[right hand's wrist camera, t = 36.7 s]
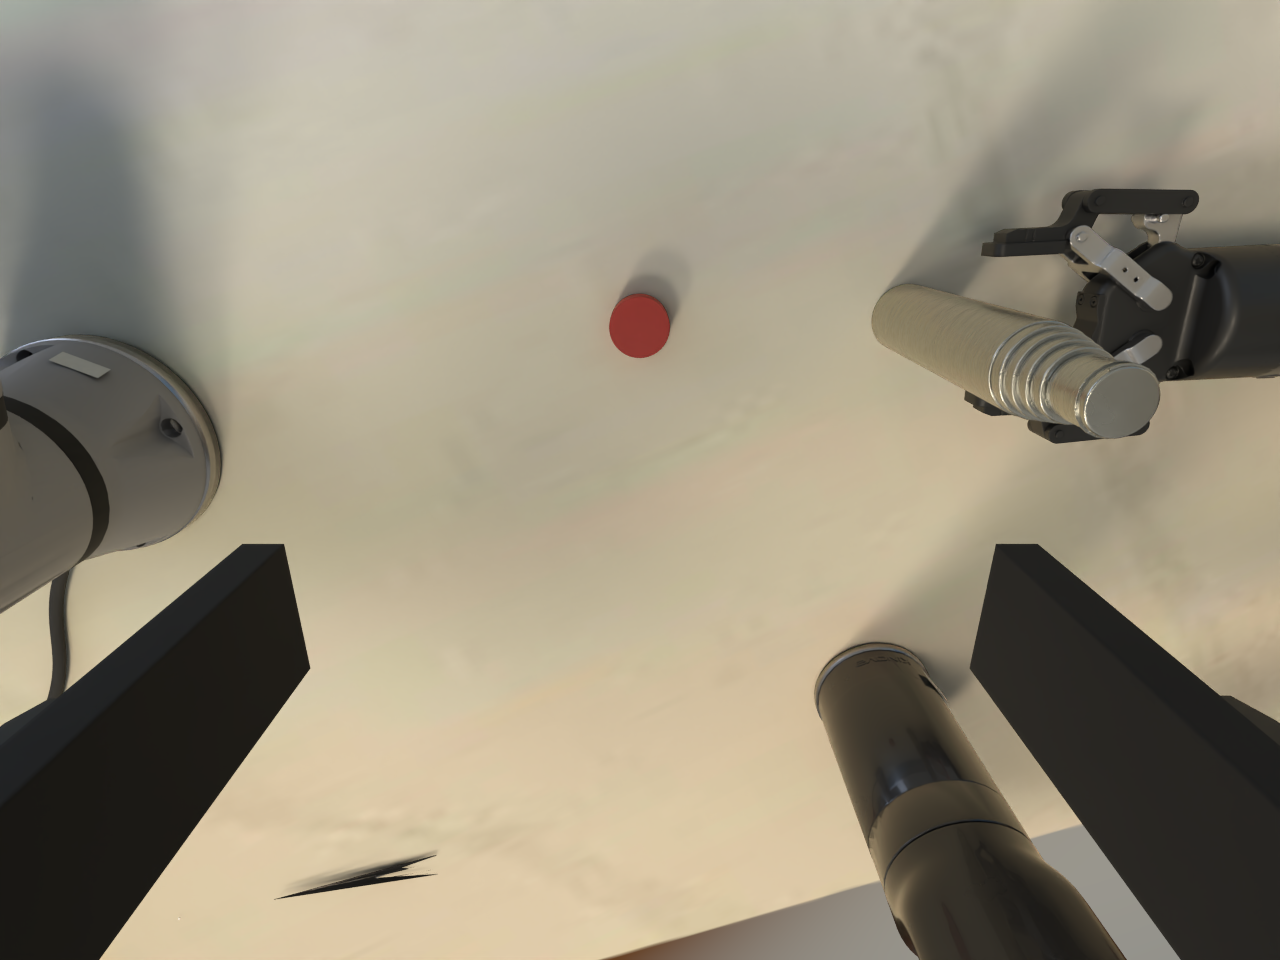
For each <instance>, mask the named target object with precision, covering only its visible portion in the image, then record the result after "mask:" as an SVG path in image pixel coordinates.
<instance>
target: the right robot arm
mask: <svg viewBox="0 0 1280 960" xmlns="http://www.w3.org/2000/svg"><path fill="white" fill-rule="evenodd" d="M220 466H221V462H220V451H219V445H218V441H217V437H216V434H215V431H214V428H213V426H212V423H211V421H210V419H209V417H208V415H207V413H206V411H205V410H204V408H203V406H202V405H201V403H200V402H199V400H198V399H197V398H196V396H195V395H194V394H193V392H192V391H191V390H190V389H189V388H188V386H187V385H186V384H185V383H184V382H183V381H182V380H181V379H180V378H179V377H178V376H177V375H176V374H175V373H173V372H172V371H171V370H170V369H169V368H167V367H166V366H165V365H163V364H162V363H161V362H159V361H158V360H156V359H155V358H153V357H152V356H150V355H148V354H147V353H145V352H143V351H141V350H139V349H137V348H135V347H132V346H130V345H128V344H125V343H122V342H119V341H116V340H113V339H109V338H105V337H99V336H93V335H66V336H59V337H54V338H50V339H45V340H40V341H36V342H32V343H29V344H26V345H24V346H21V347H19V348H17V349H15V350H13V351H11V352H10V353H8V354H6V355H5V356H4V357H2V358H1V359H0V614H1V613H2V612H4V611H6V610H7V609H9V608H10V607H12V606H13V605H15V604H16V603H18V602H19V601H21V600H23V599H24V598H26V597H27V596H29V595H30V594H32V593H33V592H35V591H37V590H38V589H40V588H41V587H43V586H44V585H46V584H47V583H49V582H50V581H52V584H51V590H50V598H49V624H50V635H51V644H52V656H53V671H52V681H51V686H50V691H49V695H48V698H47V700H46V701H44V702H43V703H41V704H39V705H37V706H35V707H33V708H32V709H30V710H28V711H26V712H24V713H23V714H21V715H19V716H17V717H15V718H13V719H12V720H10V721H8V722H6V723H4V724H3V725H2V726H1V727H0V960H99V959H100V958H101V956H102V955H103V954H104V952H105V951H106V950H107V948H108V947H109V945H110V944H111V943H112V941H113V940H114V939H115V937H116V936H117V934H118V933H119V932H120V930H121V929H122V928H123V926H124V925H125V923H126V922H127V921H128V919H129V918H130V916H131V915H132V914H133V912H134V911H135V910H136V908H137V907H138V905H139V904H140V903H141V901H142V900H143V899H144V897H145V896H146V894H147V893H148V892H149V890H150V889H151V887H152V886H153V885H154V883H155V882H156V881H157V879H158V878H159V876H160V875H161V874H162V872H163V871H164V870H165V868H166V867H167V865H168V864H169V863H170V861H171V860H172V858H173V857H174V856H175V854H176V853H177V852H178V850H179V849H180V847H181V846H182V845H183V843H184V842H185V841H186V839H187V838H188V836H189V835H190V834H191V832H192V831H193V830H194V828H195V827H196V825H197V824H198V823H199V821H200V820H201V818H202V817H203V816H204V814H205V813H206V812H207V810H208V809H209V807H210V806H211V805H212V803H213V802H214V801H215V799H216V798H217V796H218V795H219V794H220V792H221V791H222V789H223V788H224V787H225V785H226V784H227V783H228V781H229V780H230V778H231V777H232V776H233V774H234V773H235V772H236V770H237V769H238V767H239V766H240V765H241V763H242V762H243V761H244V759H245V758H246V756H247V755H248V754H249V752H250V751H251V749H252V748H253V747H254V745H255V744H256V743H257V741H258V740H259V738H260V737H261V736H262V734H263V733H264V732H265V730H266V729H267V727H268V726H269V725H270V723H271V722H272V720H273V719H274V718H275V716H276V715H277V714H278V712H279V711H280V709H281V708H282V707H283V705H284V704H285V703H286V701H287V700H288V698H289V697H290V696H291V694H292V693H293V692H294V690H295V689H296V687H297V686H298V685H299V683H300V682H301V680H302V679H303V678H304V676H305V675H306V674H307V672H308V671H309V669H310V665H309V660H308V655H307V650H306V646H305V641H304V636H303V632H302V627H301V622H300V617H299V613H298V608H297V603H296V599H295V594H294V589H293V584H292V580H291V575H290V570H289V566H288V561H287V556H286V551H285V547H284V544H242V545H241V546H239V547H238V548H237V549H236V550H235V551H233V552H232V553H231V554H230V555H229V556H227V557H226V558H225V559H224V560H223V561H221V562H220V563H219V564H218V565H217V566H215V567H214V568H213V569H212V570H211V571H209V572H208V573H207V574H206V575H205V576H203V577H202V578H201V579H200V580H199V581H197V582H196V583H195V584H194V585H193V586H191V587H190V588H189V589H188V590H187V591H185V592H184V593H183V594H182V595H181V596H179V597H178V598H177V599H176V600H175V601H173V602H172V603H171V604H170V605H169V606H167V607H166V608H165V609H164V610H163V611H161V612H160V613H159V614H158V615H157V616H155V617H154V618H153V619H152V620H151V621H149V622H148V623H147V624H146V625H144V626H143V627H142V628H141V629H140V630H138V631H137V632H136V633H135V634H134V635H132V636H131V637H130V638H129V639H128V640H126V641H125V642H124V643H123V644H122V645H120V646H119V647H118V648H117V649H116V650H114V651H113V652H112V653H111V654H110V655H108V656H107V657H106V658H105V659H104V660H102V661H101V662H100V663H99V664H98V665H96V666H95V667H94V668H93V669H92V670H90V671H89V672H88V673H87V674H86V675H84V676H83V677H82V678H81V679H80V680H78V681H77V682H76V683H75V684H74V685H72V686H71V687H70V688H69V689H68V690H66V691H65V692H64V693H63V694H62V692H63V688H64V683H65V677H66V645H65V634H64V623H63V601H64V592H65V587H66V582H67V578H68V574H69V569H71V568H72V567H74V566H75V565H77V564H79V563H80V562H82V561H84V560H86V559H90V558H94V557H98V556H101V555H104V554H108V553H111V552H115V551H123V550H132V549H137V548H142V547H146V546H149V545H153V544H156V543H159V542H162V541H164V540H166V539H168V538H170V537H172V536H173V535H175V534H177V533H178V532H180V531H181V530H183V529H184V528H185V527H187V526H188V525H190V524H191V523H192V522H194V521H195V520H196V519H198V518H199V516H200V515H201V514H202V513H203V512H204V511H205V510H206V509H207V507H208V506H209V504H210V502H211V501H212V499H213V497H214V495H215V492H216V490H217V486H218V483H219V477H220ZM970 669H971V671H972V672H973V674H974V675H975V676H976V678H977V679H978V680H979V682H980V683H981V685H982V686H983V687H984V689H985V690H986V692H987V693H988V694H989V696H990V697H991V698H992V700H993V701H994V703H995V704H996V705H997V707H998V708H999V709H1000V711H1001V712H1002V714H1003V715H1004V716H1005V718H1006V719H1007V720H1008V722H1009V723H1010V725H1011V726H1012V727H1013V729H1014V730H1015V732H1016V733H1017V734H1018V736H1019V737H1020V738H1021V740H1022V741H1023V743H1024V744H1025V745H1026V747H1027V748H1028V749H1029V751H1030V752H1031V754H1032V755H1033V756H1034V758H1035V759H1036V761H1037V762H1038V763H1039V765H1040V766H1041V767H1042V769H1043V770H1044V772H1045V773H1046V774H1047V776H1048V777H1049V778H1050V780H1051V781H1052V783H1053V784H1054V785H1055V787H1056V788H1057V789H1058V791H1059V792H1060V794H1061V795H1062V796H1063V798H1064V799H1065V801H1066V802H1067V803H1068V805H1069V806H1070V807H1071V809H1072V810H1073V812H1074V813H1075V814H1076V816H1077V817H1078V818H1079V820H1080V821H1081V823H1082V824H1083V825H1084V827H1085V828H1086V830H1087V831H1088V832H1089V834H1090V835H1091V836H1092V838H1093V839H1094V840H1095V842H1096V843H1097V845H1098V846H1099V847H1100V849H1101V850H1102V852H1103V853H1104V854H1105V856H1106V857H1107V858H1108V860H1109V861H1110V863H1111V864H1112V865H1113V867H1114V868H1115V870H1116V871H1117V872H1118V874H1119V875H1120V876H1121V878H1122V879H1123V881H1124V882H1125V883H1126V885H1127V886H1128V887H1129V889H1130V890H1131V892H1132V893H1133V894H1134V896H1135V897H1136V899H1137V900H1138V901H1139V903H1140V904H1141V905H1142V907H1143V908H1144V910H1145V911H1146V912H1147V914H1148V915H1149V916H1150V918H1151V919H1152V921H1153V922H1154V923H1155V925H1156V926H1157V927H1158V929H1159V930H1160V932H1161V933H1162V934H1163V936H1164V937H1165V939H1166V940H1167V941H1168V943H1169V944H1170V945H1171V947H1172V948H1173V950H1174V951H1175V952H1176V954H1177V955H1178V956H1179V958H1180V959H1181V960H1280V723H1278V722H1277V721H1276V720H1274V719H1272V718H1270V717H1268V716H1267V715H1265V714H1263V713H1261V712H1259V711H1257V710H1256V709H1254V708H1252V707H1250V706H1248V705H1246V704H1245V703H1243V702H1241V701H1239V700H1237V699H1235V698H1234V697H1232V696H1220V695H1218V694H1217V693H1216V692H1215V691H1214V690H1212V689H1211V688H1210V687H1209V686H1208V685H1206V684H1205V683H1204V682H1203V681H1202V680H1200V679H1199V678H1198V677H1197V676H1196V675H1194V674H1193V673H1192V672H1191V671H1190V670H1188V669H1187V668H1186V667H1185V666H1184V665H1182V664H1181V663H1180V662H1179V661H1178V660H1176V659H1175V658H1174V657H1173V656H1172V655H1170V654H1169V653H1168V652H1167V651H1166V650H1164V649H1163V648H1162V647H1161V646H1160V645H1158V644H1157V643H1156V642H1155V641H1154V640H1152V639H1151V638H1150V637H1149V636H1148V635H1146V634H1145V633H1144V632H1143V631H1142V630H1140V629H1139V628H1138V627H1137V626H1135V625H1134V624H1133V623H1132V622H1131V621H1129V620H1128V619H1127V618H1126V617H1125V616H1123V615H1122V614H1121V613H1120V612H1119V611H1117V610H1116V609H1115V608H1114V607H1113V606H1111V605H1110V604H1109V603H1108V602H1107V601H1105V600H1104V599H1103V598H1102V597H1101V596H1099V595H1098V594H1097V593H1096V592H1095V591H1093V590H1092V589H1091V588H1090V587H1089V586H1087V585H1086V584H1085V583H1084V582H1083V581H1081V580H1080V579H1079V578H1078V577H1077V576H1075V575H1074V574H1073V573H1072V572H1071V571H1069V570H1068V569H1067V568H1066V567H1065V566H1063V565H1062V564H1061V563H1060V562H1059V561H1057V560H1056V559H1055V558H1054V557H1053V556H1051V555H1050V554H1049V553H1048V552H1047V551H1045V550H1044V549H1043V548H1042V547H1041V546H1039V545H1038V544H996V547H995V551H994V556H993V561H992V566H991V570H990V575H989V580H988V584H987V589H986V594H985V599H984V603H983V608H982V613H981V617H980V622H979V627H978V632H977V636H976V641H975V646H974V650H973V655H972V660H971V665H970Z"/></svg>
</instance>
